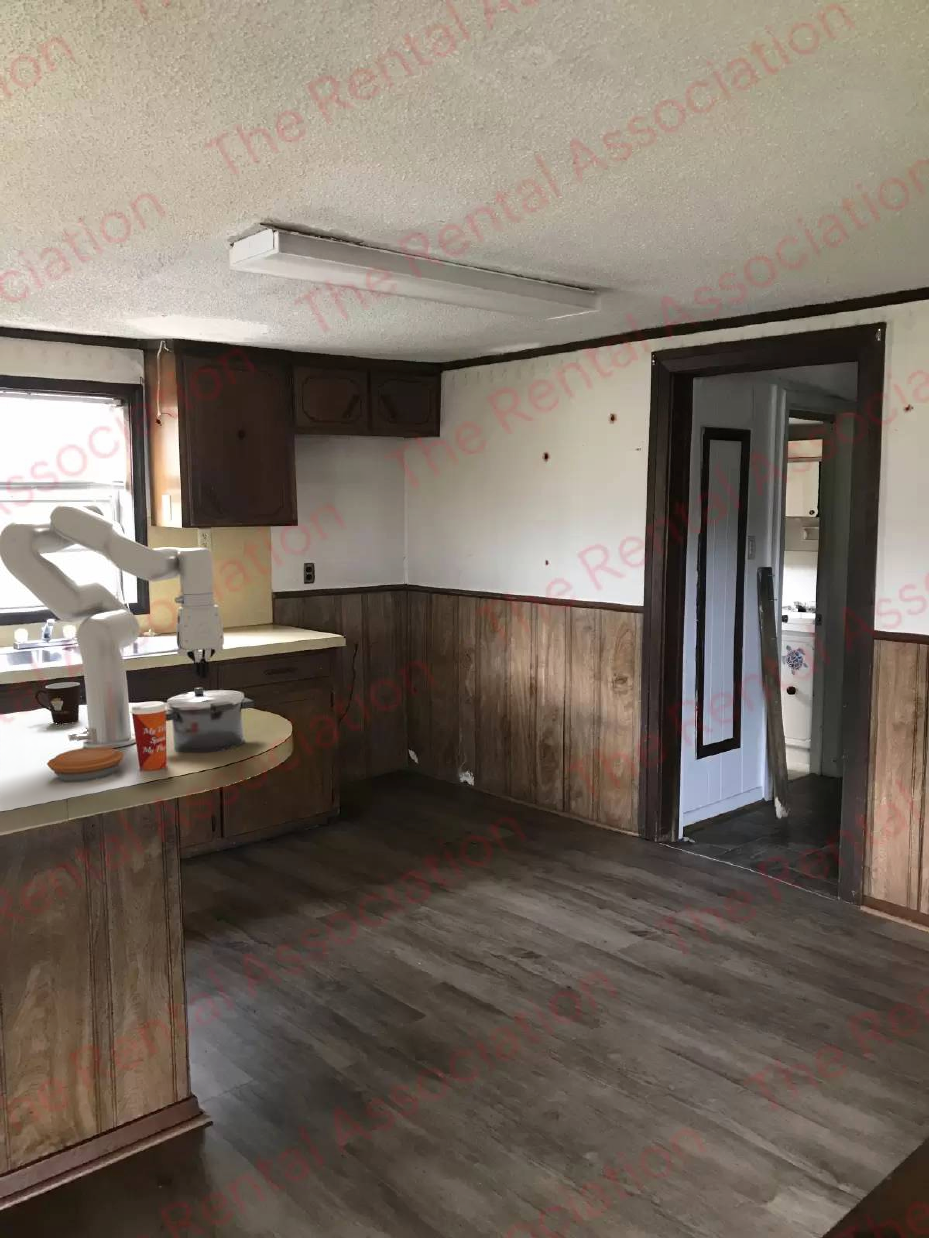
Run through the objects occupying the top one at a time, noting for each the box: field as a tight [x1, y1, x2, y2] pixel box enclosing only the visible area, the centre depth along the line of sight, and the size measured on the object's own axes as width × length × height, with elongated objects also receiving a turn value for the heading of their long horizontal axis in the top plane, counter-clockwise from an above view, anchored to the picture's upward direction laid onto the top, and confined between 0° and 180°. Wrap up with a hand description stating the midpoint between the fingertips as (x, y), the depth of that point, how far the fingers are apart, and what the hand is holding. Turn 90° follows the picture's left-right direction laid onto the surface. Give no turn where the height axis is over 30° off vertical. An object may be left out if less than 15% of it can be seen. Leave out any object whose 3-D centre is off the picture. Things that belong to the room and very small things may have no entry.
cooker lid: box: [166, 687, 245, 711], centre depth 238 cm, size 18×21×3 cm
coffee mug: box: [34, 681, 81, 725], centre depth 273 cm, size 12×9×10 cm
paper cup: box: [129, 700, 168, 772], centre depth 220 cm, size 8×8×14 cm
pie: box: [46, 747, 125, 783], centre depth 217 cm, size 16×16×5 cm
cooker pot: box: [166, 697, 255, 754], centre depth 241 cm, size 22×19×10 cm
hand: (201, 677), depth 239 cm, fingers closed
